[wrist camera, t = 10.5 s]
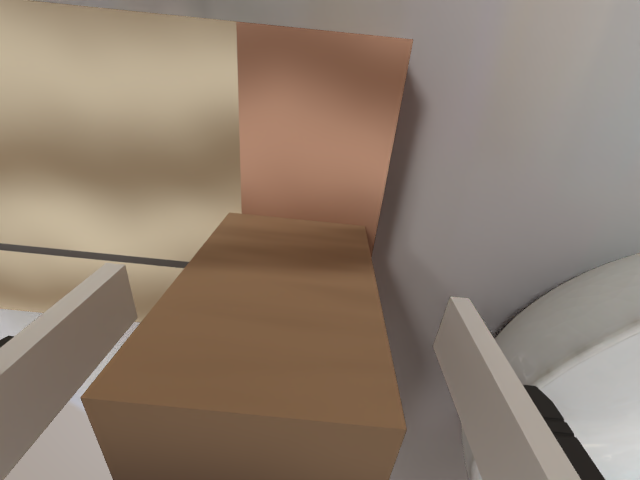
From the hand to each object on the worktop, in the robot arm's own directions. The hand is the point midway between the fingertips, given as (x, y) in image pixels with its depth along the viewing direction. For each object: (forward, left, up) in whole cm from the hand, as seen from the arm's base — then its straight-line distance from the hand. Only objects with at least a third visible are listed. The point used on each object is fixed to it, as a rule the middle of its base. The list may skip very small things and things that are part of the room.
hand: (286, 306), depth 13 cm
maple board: (-3, -8, -5) cm, 10 cm away
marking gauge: (+1, 0, -4) cm, 4 cm away
